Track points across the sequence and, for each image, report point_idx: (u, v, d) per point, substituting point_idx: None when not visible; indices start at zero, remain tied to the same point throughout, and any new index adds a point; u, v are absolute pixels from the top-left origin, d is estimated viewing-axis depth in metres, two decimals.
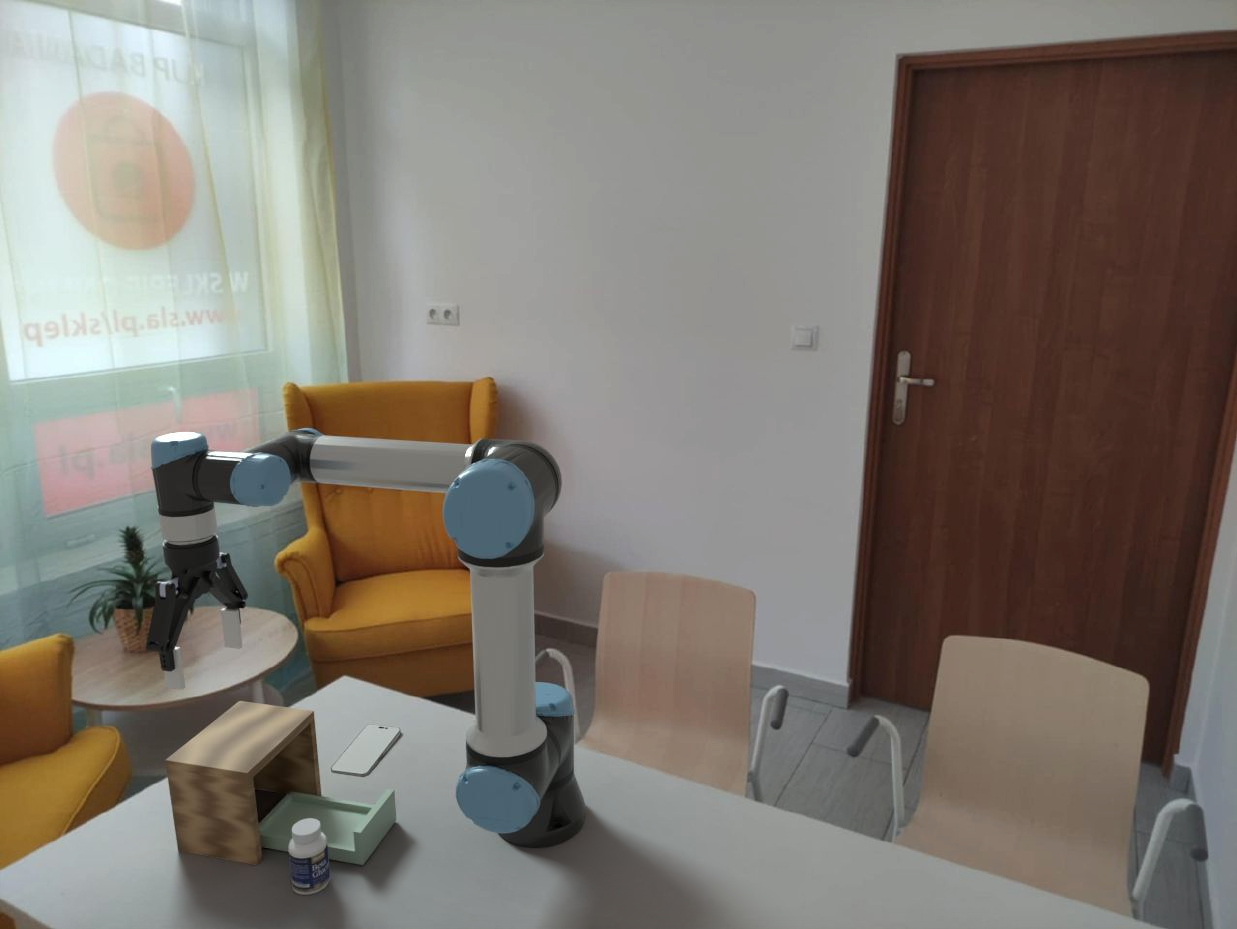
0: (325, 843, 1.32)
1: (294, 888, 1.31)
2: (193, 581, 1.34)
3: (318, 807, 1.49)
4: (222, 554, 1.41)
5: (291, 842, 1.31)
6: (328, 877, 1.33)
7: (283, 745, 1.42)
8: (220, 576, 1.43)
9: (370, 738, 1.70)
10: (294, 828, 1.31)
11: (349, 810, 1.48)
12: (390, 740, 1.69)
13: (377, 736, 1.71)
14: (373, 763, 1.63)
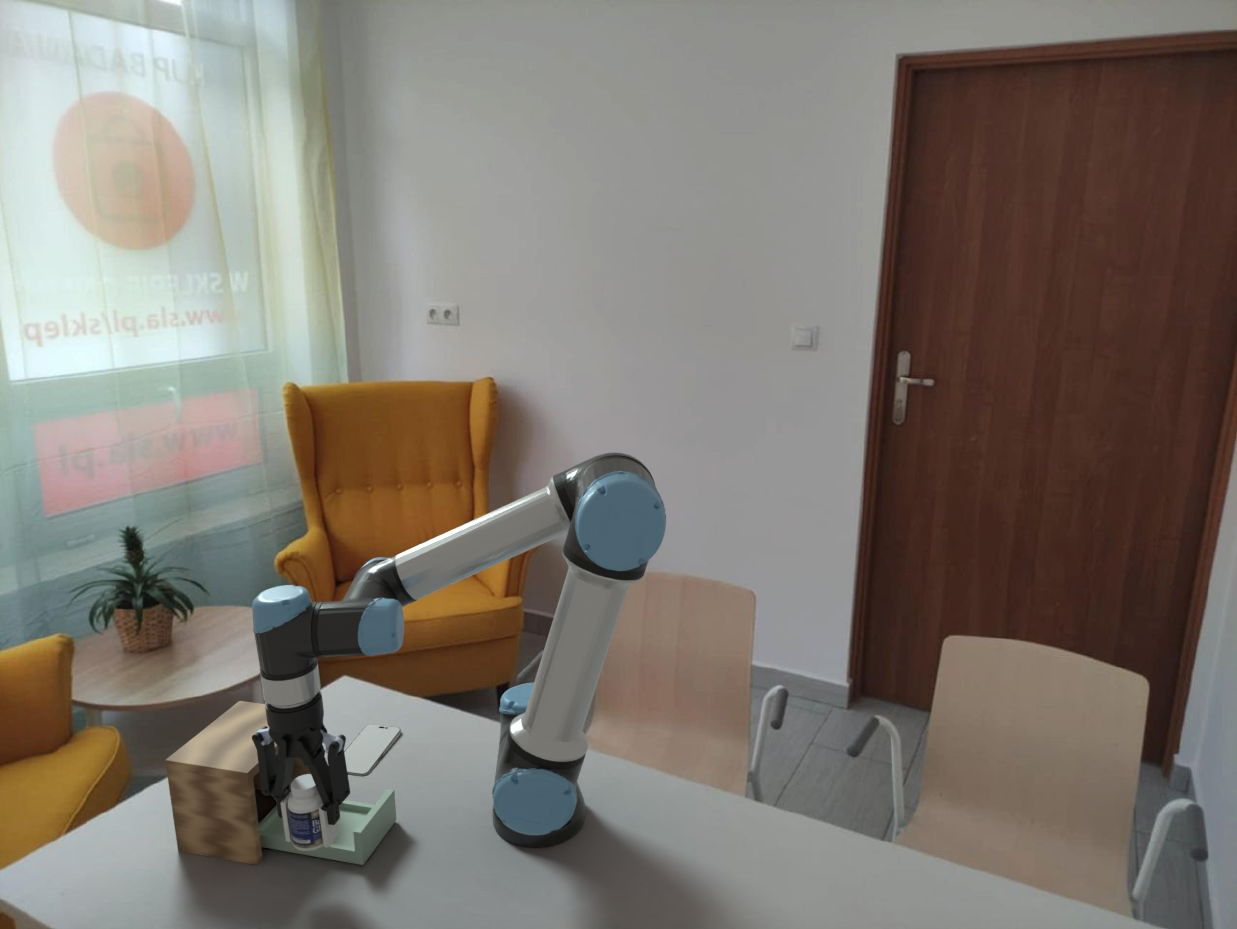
0: None
1: (295, 844, 1.30)
2: None
3: None
4: (334, 741, 1.25)
5: (290, 798, 1.29)
6: None
7: None
8: None
9: (370, 738, 1.70)
10: (293, 783, 1.29)
11: (349, 810, 1.48)
12: (390, 740, 1.69)
13: (377, 736, 1.71)
14: (373, 763, 1.63)
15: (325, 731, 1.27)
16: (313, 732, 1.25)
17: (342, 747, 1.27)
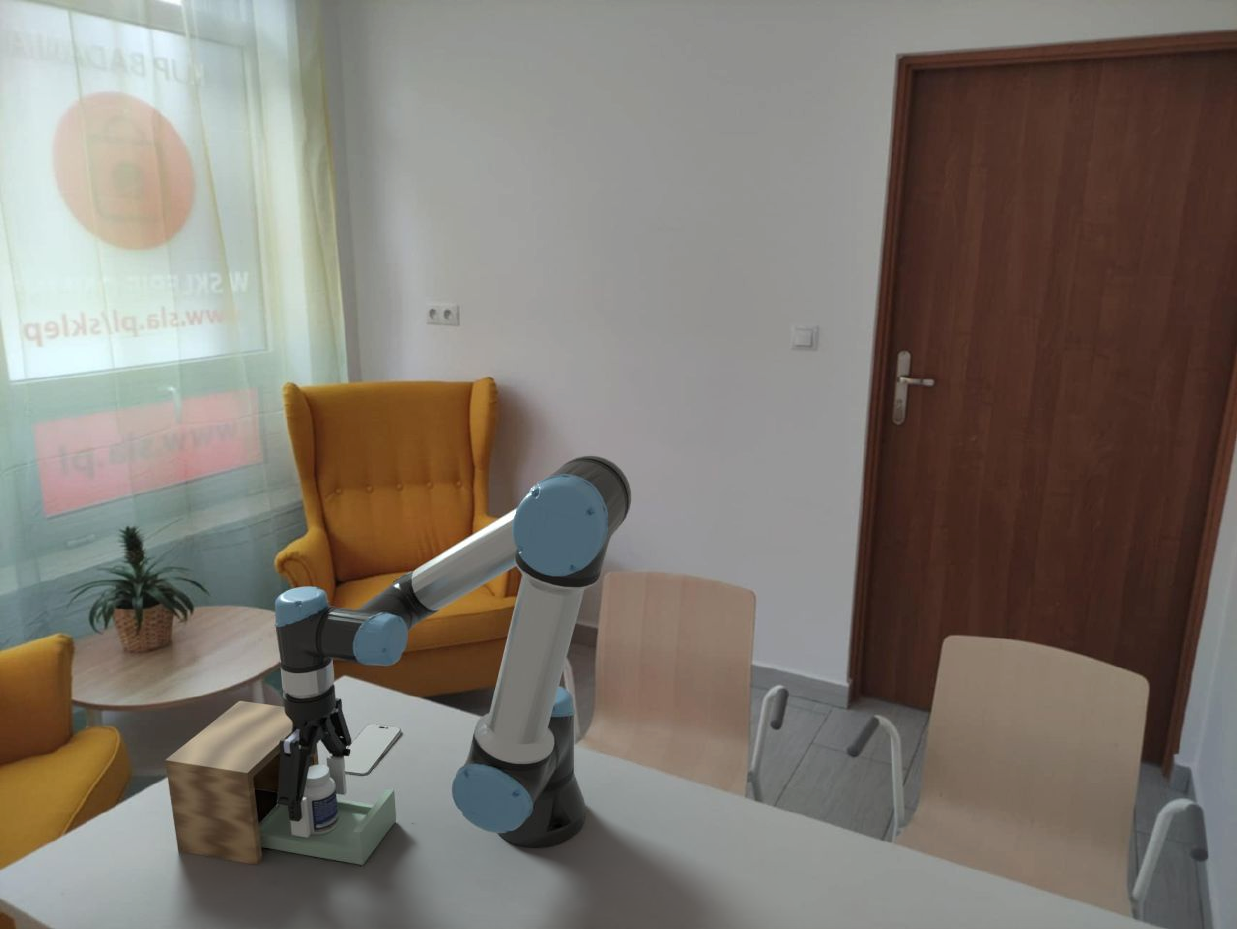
0: None
1: (330, 827, 1.42)
2: (312, 732, 1.37)
3: None
4: None
5: (317, 791, 1.40)
6: None
7: None
8: None
9: (370, 738, 1.70)
10: (315, 777, 1.40)
11: (348, 810, 1.48)
12: (390, 740, 1.69)
13: (377, 736, 1.71)
14: (373, 763, 1.63)
15: None
16: None
17: None
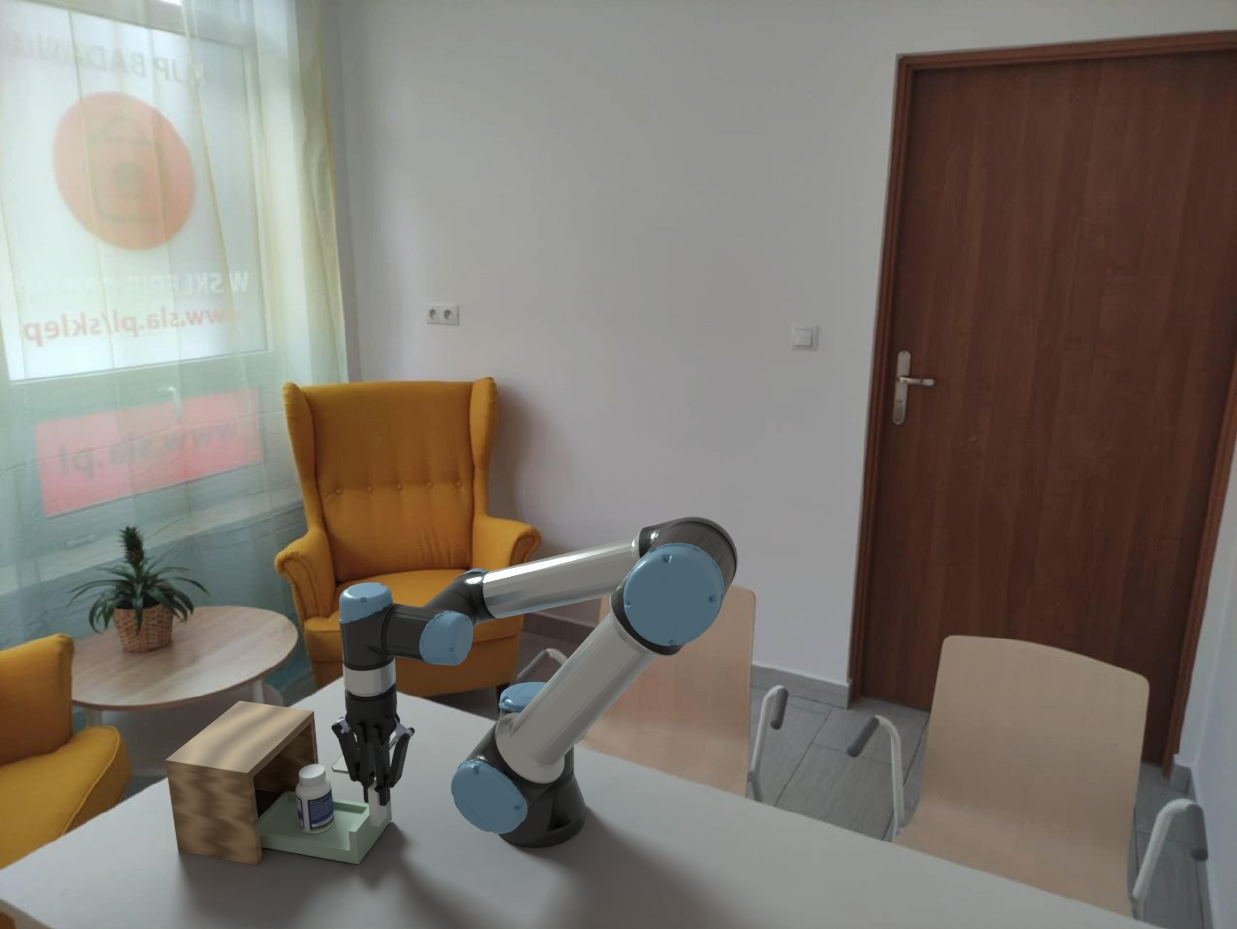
0: None
1: (326, 826, 1.42)
2: None
3: None
4: (406, 733, 1.35)
5: (313, 791, 1.40)
6: None
7: (283, 745, 1.42)
8: None
9: None
10: (311, 776, 1.40)
11: (344, 809, 1.48)
12: (391, 739, 1.70)
13: None
14: None
15: (398, 721, 1.36)
16: (390, 720, 1.35)
17: (409, 739, 1.37)
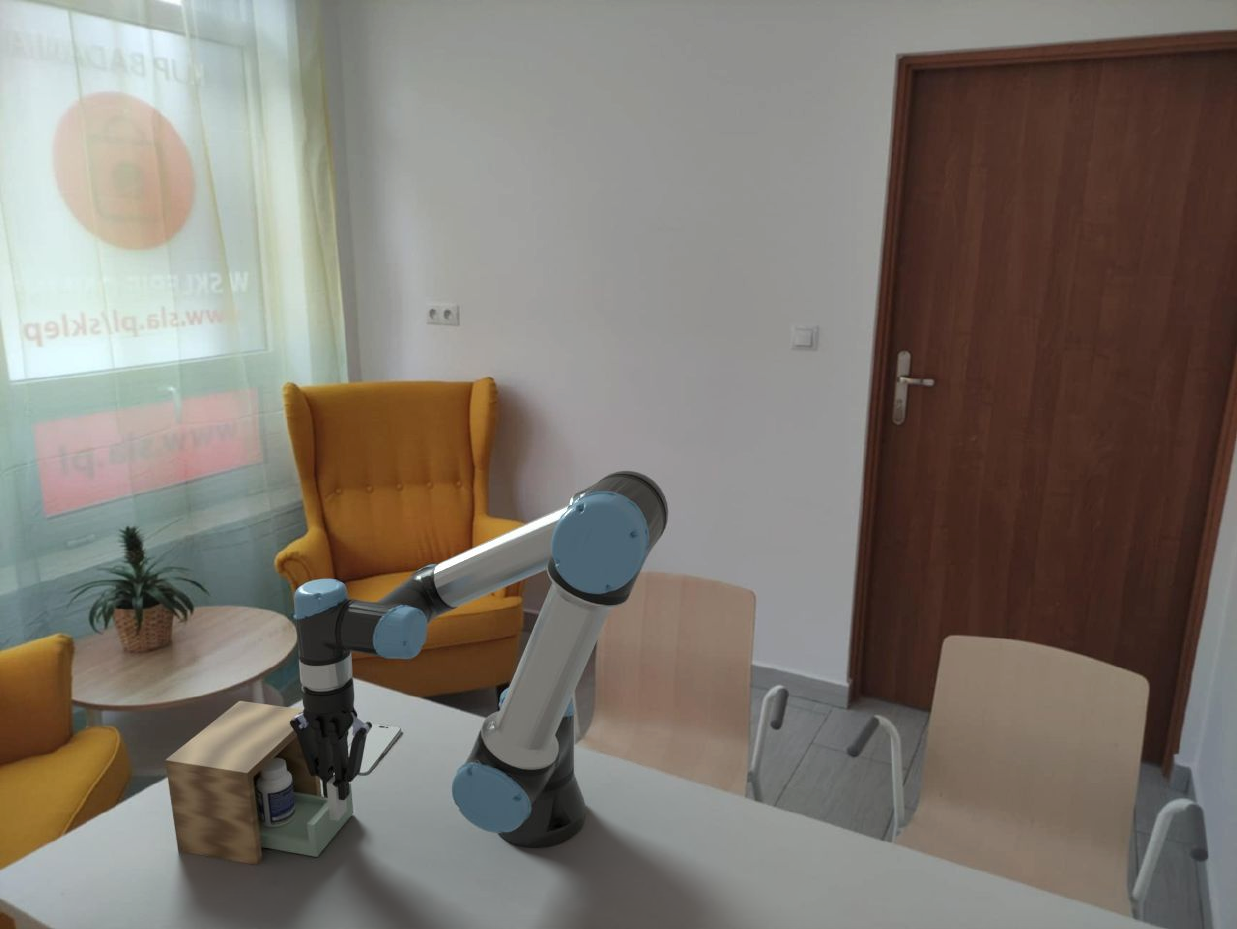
0: None
1: (287, 820, 1.44)
2: None
3: None
4: (363, 728, 1.37)
5: (273, 784, 1.42)
6: None
7: (283, 745, 1.42)
8: None
9: (370, 737, 1.70)
10: (271, 770, 1.42)
11: (306, 803, 1.50)
12: (391, 739, 1.70)
13: (378, 735, 1.71)
14: (374, 762, 1.63)
15: (356, 715, 1.38)
16: (346, 715, 1.36)
17: (367, 733, 1.38)
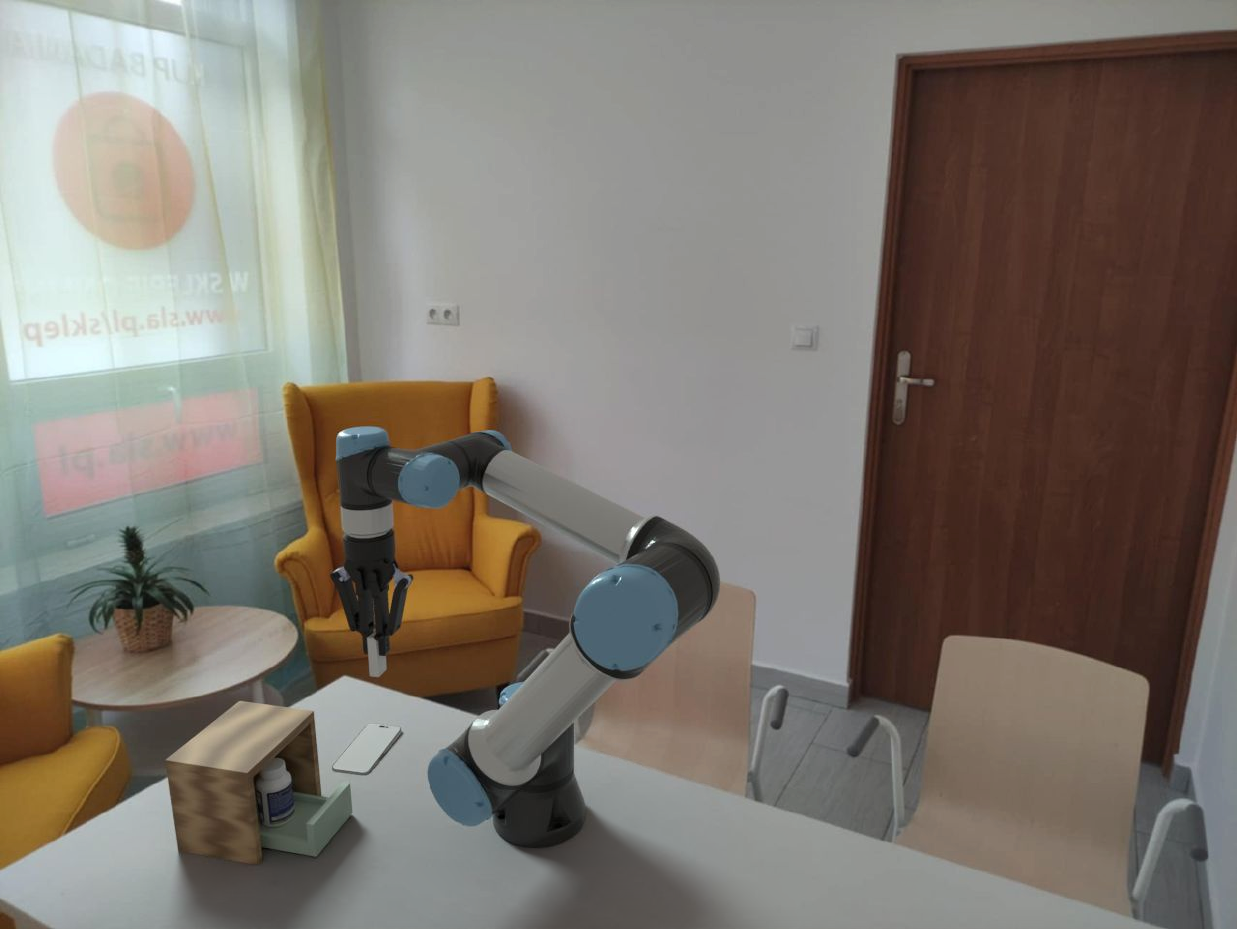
0: None
1: (286, 820, 1.44)
2: None
3: None
4: (404, 578, 1.35)
5: (272, 784, 1.42)
6: None
7: (283, 745, 1.42)
8: None
9: (371, 737, 1.70)
10: (270, 770, 1.42)
11: (305, 803, 1.50)
12: (391, 739, 1.70)
13: (378, 735, 1.71)
14: (374, 762, 1.63)
15: (397, 567, 1.36)
16: (388, 565, 1.35)
17: (408, 585, 1.37)
